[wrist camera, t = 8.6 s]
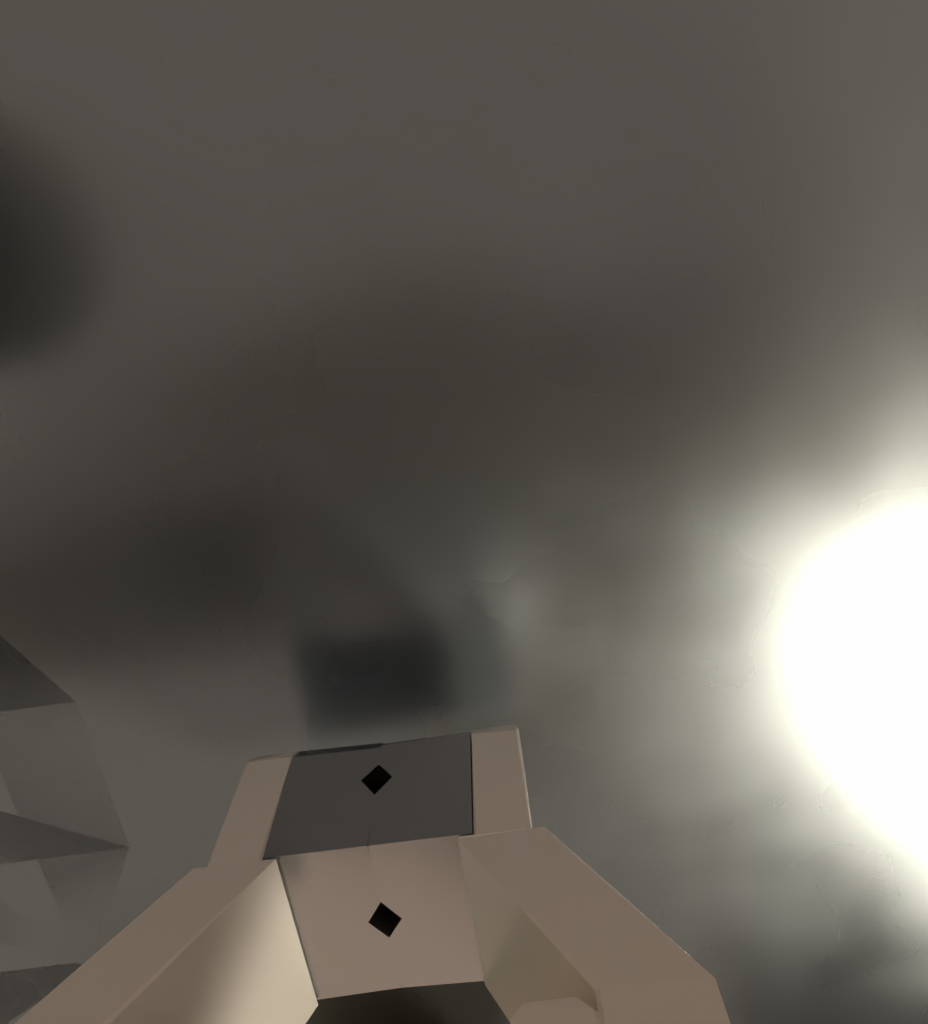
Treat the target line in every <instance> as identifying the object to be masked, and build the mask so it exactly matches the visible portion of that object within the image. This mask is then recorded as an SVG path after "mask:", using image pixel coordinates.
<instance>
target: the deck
mask: <svg viewBox="0 0 928 1024" xmlns="http://www.w3.org/2000/svg"><path fill="white" fill-rule="evenodd" d="M510 724H516V725H517V727H518V728H519V735H520V742H521V749H522V756H523V763H524V771H525V778H526V785H527V792H528V799H529V806H530V813H531V821H532V828H537V827H546V828H547V829H548V830H549V831H550V832H551V833H552V834H553V835H555V836H556V837H557V838H558V839H559V840H560V841H561V842H562V843H564V844H565V845H566V846H567V847H568V848H569V849H570V850H571V851H573V852H574V853H575V854H576V855H577V856H578V857H579V858H580V859H582V860H583V861H584V862H585V863H586V864H587V865H588V866H589V867H591V868H592V869H593V870H594V871H595V872H596V873H597V874H598V875H600V876H601V877H602V878H603V879H604V880H605V881H606V882H607V883H609V884H610V885H611V886H612V887H613V888H614V889H615V890H616V891H618V892H619V893H620V894H621V895H622V896H623V897H624V898H626V899H627V900H628V901H629V902H630V903H631V904H632V905H633V906H635V907H636V908H637V909H638V910H639V911H640V912H641V913H642V914H644V915H645V916H646V917H647V918H648V919H649V920H650V921H651V922H653V923H654V924H655V925H656V926H657V927H658V928H659V929H660V930H662V931H663V932H664V933H665V934H666V935H667V936H668V937H669V938H671V939H672V940H673V941H674V942H675V943H676V944H677V945H678V946H680V947H681V948H682V949H683V950H684V951H685V952H686V953H687V954H689V955H690V956H691V957H692V958H693V959H694V960H695V961H696V962H698V963H699V964H700V965H701V966H702V967H703V968H704V969H706V970H707V971H708V972H709V973H710V974H711V975H712V976H713V977H715V979H716V982H717V985H718V988H719V991H720V994H721V997H722V1000H723V1003H724V1006H725V1009H726V1012H727V1015H728V1017H729V1020H730V1023H731V1024H928V0H0V1024H14V1023H16V1022H17V1021H18V1020H19V1019H20V1018H21V1017H23V1016H24V1015H25V1014H26V1013H27V1012H28V1011H29V1010H31V1009H32V1008H33V1007H34V1006H35V1005H36V1004H38V1003H39V1002H40V1001H41V1000H42V999H43V998H44V997H46V996H47V995H48V994H49V993H50V992H51V991H53V990H54V989H55V988H56V987H57V986H58V985H59V984H61V983H62V982H63V981H64V980H65V979H66V978H68V977H69V976H70V975H71V974H72V973H73V972H74V971H76V970H77V969H78V968H79V967H80V966H81V965H83V964H84V963H85V962H86V961H87V960H88V959H89V958H91V957H92V956H93V955H94V954H95V953H96V952H98V951H99V950H100V949H101V948H102V947H103V946H104V945H106V944H107V943H108V942H109V941H110V940H111V939H113V938H114V937H115V936H116V935H117V934H118V933H119V932H121V931H122V930H123V929H124V928H125V927H126V926H128V925H129V924H130V923H131V922H132V921H133V920H134V919H136V918H137V917H138V916H139V915H140V914H141V913H143V912H144V911H145V910H146V909H147V908H148V907H149V906H151V905H152V904H153V903H154V902H155V901H156V900H158V899H159V898H160V897H161V896H162V895H163V894H164V893H166V892H167V891H168V890H169V889H170V888H171V887H173V886H174V885H175V884H176V883H177V882H178V881H179V880H181V879H182V878H183V877H184V876H185V875H186V874H188V873H189V872H190V871H191V870H192V869H196V868H203V867H207V865H208V862H209V860H210V857H211V854H212V852H213V849H214V846H215V844H216V841H217V839H218V836H219V833H220V831H221V828H222V825H223V823H224V820H225V818H226V815H227V812H228V810H229V807H230V804H231V802H232V799H233V797H234V794H235V791H236V789H237V786H238V784H239V781H240V778H241V776H242V773H243V770H244V768H245V765H246V764H247V763H248V762H249V761H250V760H251V759H252V758H254V757H258V756H266V755H274V754H282V753H290V752H294V753H298V752H299V751H308V750H318V749H327V748H337V747H347V746H357V745H366V744H376V743H385V744H386V743H392V742H400V741H407V740H415V739H422V738H430V737H437V736H445V735H452V734H459V733H467V732H472V731H473V730H478V729H484V728H491V727H497V726H503V725H510ZM317 1002H318V1006H317V1008H316V1009H315V1011H314V1012H313V1014H312V1015H311V1016H310V1018H309V1019H308V1021H307V1022H306V1024H510V1022H509V1020H508V1019H507V1017H506V1016H505V1014H504V1013H503V1011H502V1010H501V1008H500V1007H499V1005H498V1004H497V1002H496V1001H495V999H494V998H493V996H492V995H491V993H490V992H489V990H488V989H487V987H486V986H485V982H484V981H477V982H465V983H453V984H440V985H428V986H416V987H404V988H395V989H388V990H381V991H374V992H367V993H361V994H354V995H347V996H340V997H333V998H326V999H319V1000H317Z"/></svg>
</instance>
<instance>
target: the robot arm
mask: <svg viewBox="0 0 928 1024" xmlns="http://www.w3.org/2000/svg"><path fill="white" fill-rule="evenodd" d="M477 981H484V982H485V986H486V987H487V989H488V990H489V992H490V993H491V995H492V996H493V998H494V999H495V1001H496V1002H497V1004H498V1005H499V1007H500V1008H501V1010H502V1011H503V1013H504V1014H505V1016H506V1017H507V1019H508V1020H509V1022H510V1024H731V1023H730V1020H729V1017H728V1015H727V1012H726V1009H725V1006H724V1003H723V1000H722V997H721V994H720V991H719V988H718V985H717V982H716V979H715V977H713V976H712V975H711V974H710V973H709V972H708V971H707V970H706V969H704V968H703V967H702V966H701V965H700V964H699V963H698V962H696V961H695V960H694V959H693V958H692V957H691V956H690V955H689V954H687V953H686V952H685V951H684V950H683V949H682V948H681V947H680V946H678V945H677V944H676V943H675V942H674V941H673V940H672V939H671V938H669V937H668V936H667V935H666V934H665V933H664V932H663V931H662V930H660V929H659V928H658V927H657V926H656V925H655V924H654V923H653V922H651V921H650V920H649V919H648V918H647V917H646V916H645V915H644V914H642V913H641V912H640V911H639V910H638V909H637V908H636V907H635V906H633V905H632V904H631V903H630V902H629V901H628V900H627V899H626V898H624V897H623V896H622V895H621V894H620V893H619V892H618V891H616V890H615V889H614V888H613V887H612V886H611V885H610V884H609V883H607V882H606V881H605V880H604V879H603V878H602V877H601V876H600V875H598V874H597V873H596V872H595V871H594V870H593V869H592V868H591V867H589V866H588V865H587V864H586V863H585V862H584V861H583V860H582V859H580V858H579V857H578V856H577V855H576V854H575V853H574V852H573V851H571V850H570V849H569V848H568V847H567V846H566V845H565V844H564V843H562V842H561V841H560V840H559V839H558V838H557V837H556V836H555V835H553V834H552V833H551V832H550V831H549V830H548V829H547V828H546V827H537V828H532V821H531V813H530V806H529V799H528V792H527V785H526V778H525V771H524V763H523V756H522V749H521V742H520V735H519V728H518V727H517V725H516V724H510V725H503V726H497V727H491V728H484V729H478V730H473V731H472V732H467V733H459V734H452V735H445V736H437V737H430V738H422V739H415V740H407V741H400V742H392V743H386V744H385V743H376V744H366V745H357V746H347V747H337V748H327V749H318V750H308V751H299V752H298V753H294V752H290V753H282V754H274V755H266V756H258V757H254V758H252V759H251V760H250V761H249V762H248V763H247V764H246V765H245V768H244V770H243V773H242V776H241V778H240V781H239V784H238V786H237V789H236V791H235V794H234V797H233V799H232V802H231V804H230V807H229V810H228V812H227V815H226V818H225V820H224V823H223V825H222V828H221V831H220V833H219V836H218V839H217V841H216V844H215V846H214V849H213V852H212V854H211V857H210V860H209V862H208V865H207V867H203V868H196V869H192V870H191V871H190V872H189V873H188V874H186V875H185V876H184V877H183V878H182V879H181V880H179V881H178V882H177V883H176V884H175V885H174V886H173V887H171V888H170V889H169V890H168V891H167V892H166V893H164V894H163V895H162V896H161V897H160V898H159V899H158V900H156V901H155V902H154V903H153V904H152V905H151V906H149V907H148V908H147V909H146V910H145V911H144V912H143V913H141V914H140V915H139V916H138V917H137V918H136V919H134V920H133V921H132V922H131V923H130V924H129V925H128V926H126V927H125V928H124V929H123V930H122V931H121V932H119V933H118V934H117V935H116V936H115V937H114V938H113V939H111V940H110V941H109V942H108V943H107V944H106V945H104V946H103V947H102V948H101V949H100V950H99V951H98V952H96V953H95V954H94V955H93V956H92V957H91V958H89V959H88V960H87V961H86V962H85V963H84V964H83V965H81V966H80V967H79V968H78V969H77V970H76V971H74V972H73V973H72V974H71V975H70V976H69V977H68V978H66V979H65V980H64V981H63V982H62V983H61V984H59V985H58V986H57V987H56V988H55V989H54V990H53V991H51V992H50V993H49V994H48V995H47V996H46V997H44V998H43V999H42V1000H41V1001H40V1002H39V1003H38V1004H36V1005H35V1006H34V1007H33V1008H32V1009H31V1010H29V1011H28V1012H27V1013H26V1014H25V1015H24V1016H23V1017H21V1018H20V1019H19V1020H18V1021H17V1022H16V1023H14V1024H306V1022H307V1021H308V1019H309V1018H310V1016H311V1015H312V1014H313V1012H314V1011H315V1009H316V1008H317V1006H318V1002H317V1000H319V999H326V998H333V997H340V996H347V995H354V994H361V993H367V992H374V991H381V990H388V989H395V988H404V987H416V986H428V985H440V984H453V983H465V982H477Z"/></svg>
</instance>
